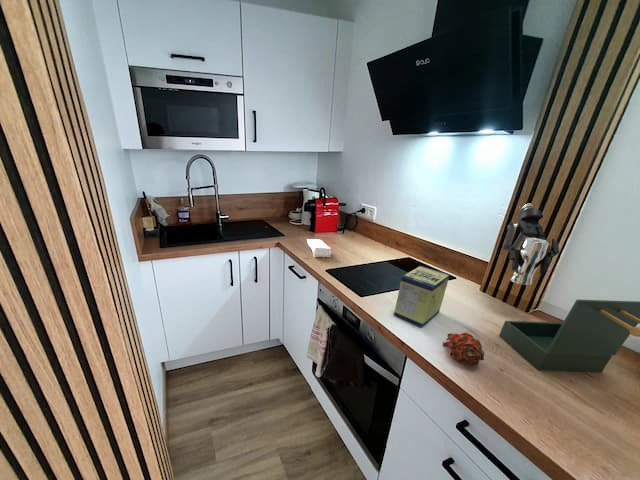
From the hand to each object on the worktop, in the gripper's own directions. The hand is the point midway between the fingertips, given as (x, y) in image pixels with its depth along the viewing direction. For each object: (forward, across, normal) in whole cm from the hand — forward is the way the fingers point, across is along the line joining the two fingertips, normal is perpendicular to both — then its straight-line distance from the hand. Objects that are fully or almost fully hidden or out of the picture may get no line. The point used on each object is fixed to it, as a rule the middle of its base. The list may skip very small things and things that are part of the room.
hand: (528, 270), depth 94 cm
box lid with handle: (+20, -10, +13) cm, 26 cm away
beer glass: (+2, 0, -6) cm, 7 cm away
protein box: (+22, +30, -5) cm, 38 cm away
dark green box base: (+25, -6, -2) cm, 26 cm away
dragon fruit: (+36, +18, +9) cm, 41 cm away
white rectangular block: (-13, +85, -40) cm, 95 cm away
